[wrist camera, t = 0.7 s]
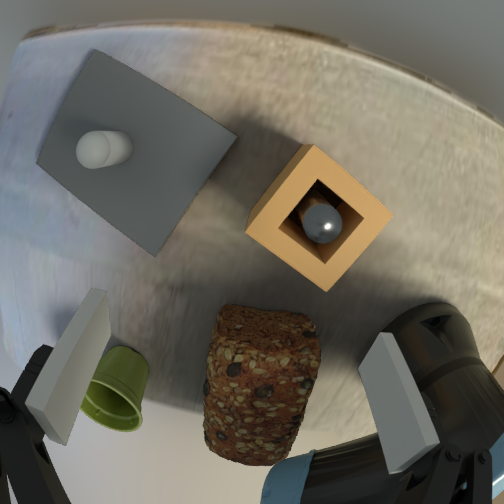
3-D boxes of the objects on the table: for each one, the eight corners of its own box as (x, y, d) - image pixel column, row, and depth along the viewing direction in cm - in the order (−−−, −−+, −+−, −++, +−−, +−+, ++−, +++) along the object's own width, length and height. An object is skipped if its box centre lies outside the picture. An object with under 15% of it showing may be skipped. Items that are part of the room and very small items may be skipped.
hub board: (238, 137, 26) (228, 134, 19) (159, 251, 31) (130, 283, 24) (102, 52, 23) (61, 35, 16) (43, 161, 28) (-2, 171, 21)
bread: (284, 417, 39) (285, 474, 29) (209, 408, 39) (197, 464, 29) (316, 309, 32) (331, 370, 23) (218, 296, 32) (200, 355, 23)
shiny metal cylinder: (330, 201, 28) (350, 221, 21) (311, 224, 29) (325, 250, 22) (307, 183, 28) (320, 197, 21) (289, 206, 28) (295, 227, 21)
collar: (366, 198, 28) (393, 215, 21) (314, 259, 30) (326, 292, 24) (302, 144, 26) (313, 144, 20) (250, 211, 29) (244, 232, 22)
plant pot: (172, 385, 37) (155, 433, 29) (119, 388, 39) (97, 430, 31) (142, 330, 34) (114, 377, 26) (87, 339, 36) (56, 378, 28)
